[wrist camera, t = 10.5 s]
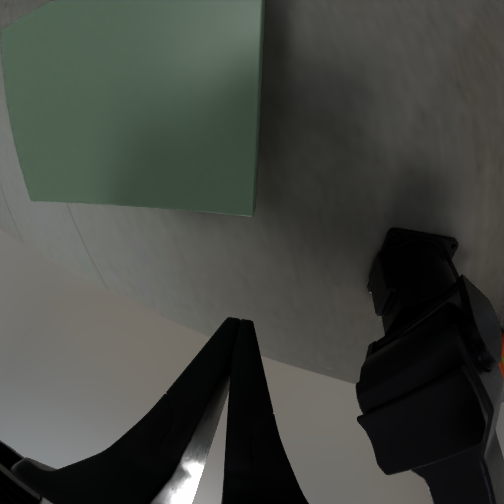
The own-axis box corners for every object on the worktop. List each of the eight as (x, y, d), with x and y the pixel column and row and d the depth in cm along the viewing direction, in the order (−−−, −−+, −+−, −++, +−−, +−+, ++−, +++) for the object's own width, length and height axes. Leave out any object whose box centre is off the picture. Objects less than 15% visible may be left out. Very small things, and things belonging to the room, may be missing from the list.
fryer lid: (267, -43, 6) (265, -49, 6) (255, 208, 14) (253, 217, 13) (10, 28, 8) (0, 30, 7) (38, 195, 15) (30, 201, 14)
